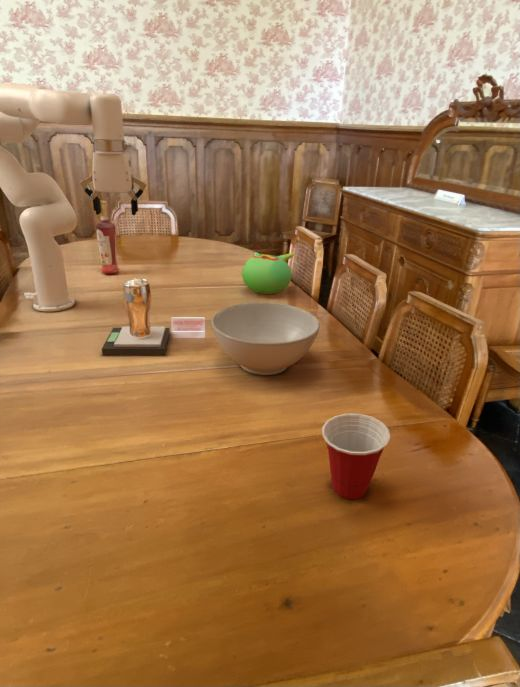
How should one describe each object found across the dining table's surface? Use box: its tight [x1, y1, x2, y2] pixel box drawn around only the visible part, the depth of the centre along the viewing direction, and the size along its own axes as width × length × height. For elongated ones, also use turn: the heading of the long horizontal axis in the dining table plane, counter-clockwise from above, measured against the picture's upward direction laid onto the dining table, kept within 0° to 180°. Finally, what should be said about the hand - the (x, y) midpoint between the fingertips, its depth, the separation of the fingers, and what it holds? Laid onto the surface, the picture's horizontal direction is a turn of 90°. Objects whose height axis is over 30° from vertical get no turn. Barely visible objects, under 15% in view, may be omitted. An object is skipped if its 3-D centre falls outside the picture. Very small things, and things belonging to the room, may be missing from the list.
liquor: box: [95, 200, 120, 276], centre depth 183 cm, size 7×7×28 cm
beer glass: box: [122, 278, 152, 339], centre depth 125 cm, size 7×7×15 cm
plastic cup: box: [321, 412, 391, 500], centre depth 78 cm, size 11×11×12 cm
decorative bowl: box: [210, 301, 321, 376], centre depth 119 cm, size 27×27×12 cm
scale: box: [101, 325, 171, 356], centre depth 129 cm, size 16×14×3 cm
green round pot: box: [241, 252, 295, 295], centre depth 170 cm, size 18×17×15 cm
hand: (116, 214), depth 130 cm, fingers open, 9 cm apart
